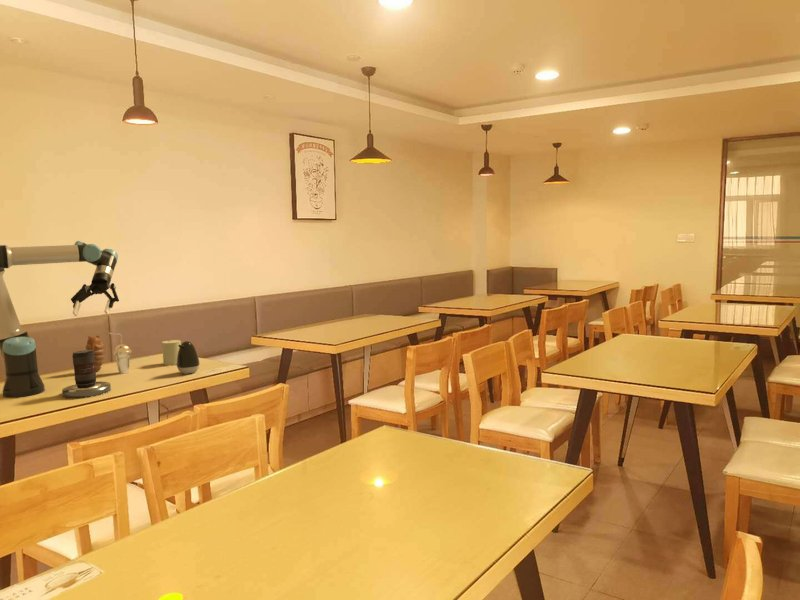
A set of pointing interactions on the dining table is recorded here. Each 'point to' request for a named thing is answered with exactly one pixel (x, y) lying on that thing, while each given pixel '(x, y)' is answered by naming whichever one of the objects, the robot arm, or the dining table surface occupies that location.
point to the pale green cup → (170, 351)
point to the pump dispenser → (187, 358)
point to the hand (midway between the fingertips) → (90, 313)
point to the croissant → (96, 350)
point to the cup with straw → (122, 356)
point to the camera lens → (84, 368)
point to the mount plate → (86, 390)
